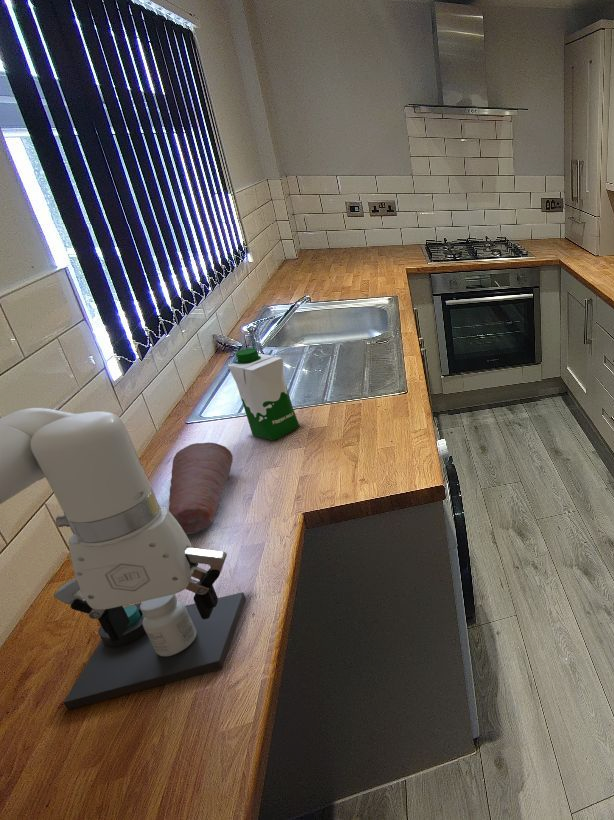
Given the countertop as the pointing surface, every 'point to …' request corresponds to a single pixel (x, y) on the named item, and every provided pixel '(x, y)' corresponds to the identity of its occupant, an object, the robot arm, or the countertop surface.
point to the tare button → (132, 614)
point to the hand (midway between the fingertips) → (166, 621)
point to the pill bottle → (167, 625)
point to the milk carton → (264, 394)
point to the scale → (155, 656)
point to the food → (198, 484)
